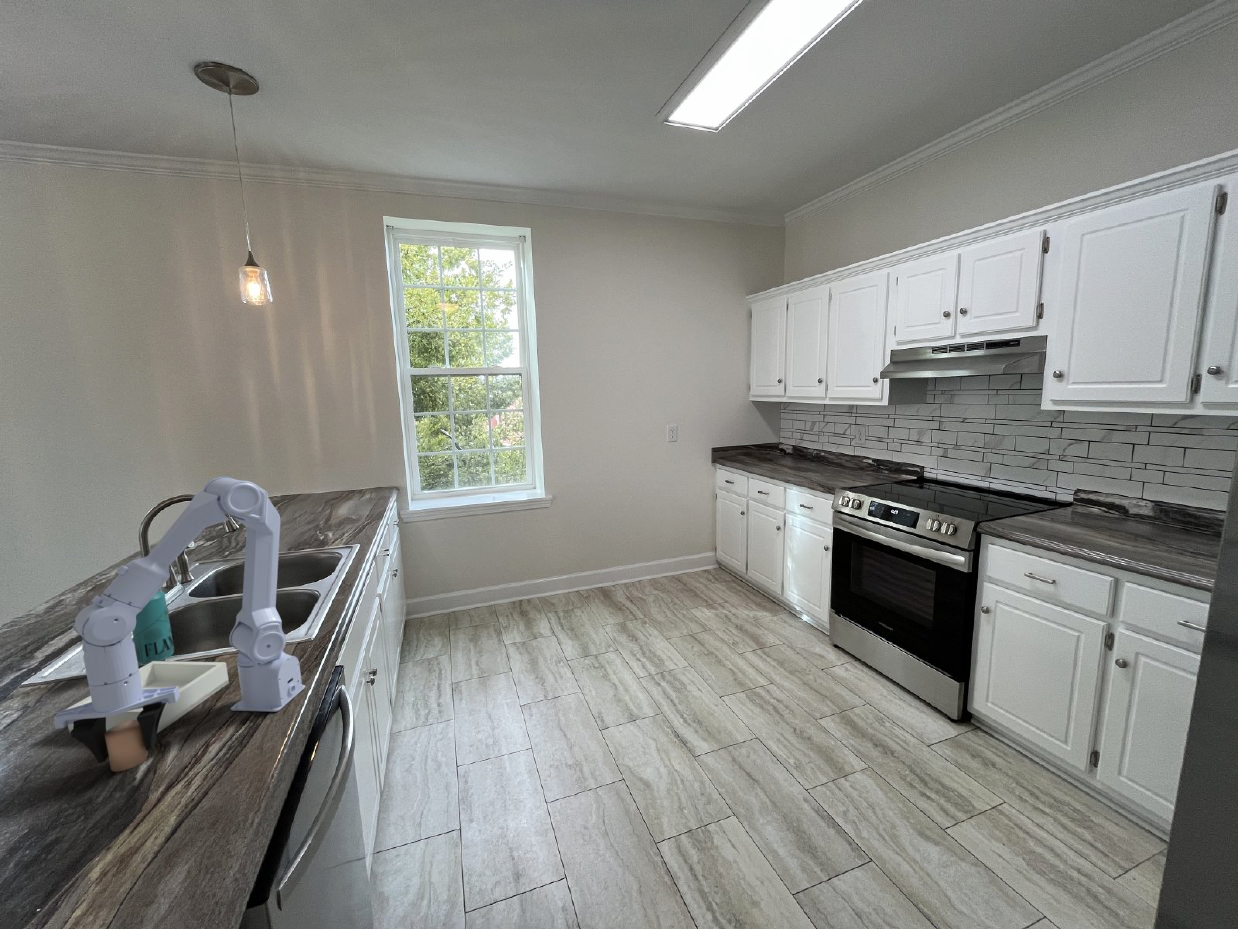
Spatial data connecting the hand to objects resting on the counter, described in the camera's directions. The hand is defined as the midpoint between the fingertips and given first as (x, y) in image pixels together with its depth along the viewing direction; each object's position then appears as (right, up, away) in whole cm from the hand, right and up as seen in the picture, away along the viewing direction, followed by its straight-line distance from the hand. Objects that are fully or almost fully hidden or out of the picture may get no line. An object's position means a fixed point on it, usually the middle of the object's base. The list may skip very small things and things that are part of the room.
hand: (128, 752), depth 82 cm
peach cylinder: (0, -2, 0) cm, 2 cm away
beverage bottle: (-23, +2, +30) cm, 38 cm away
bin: (-9, 0, +15) cm, 17 cm away
